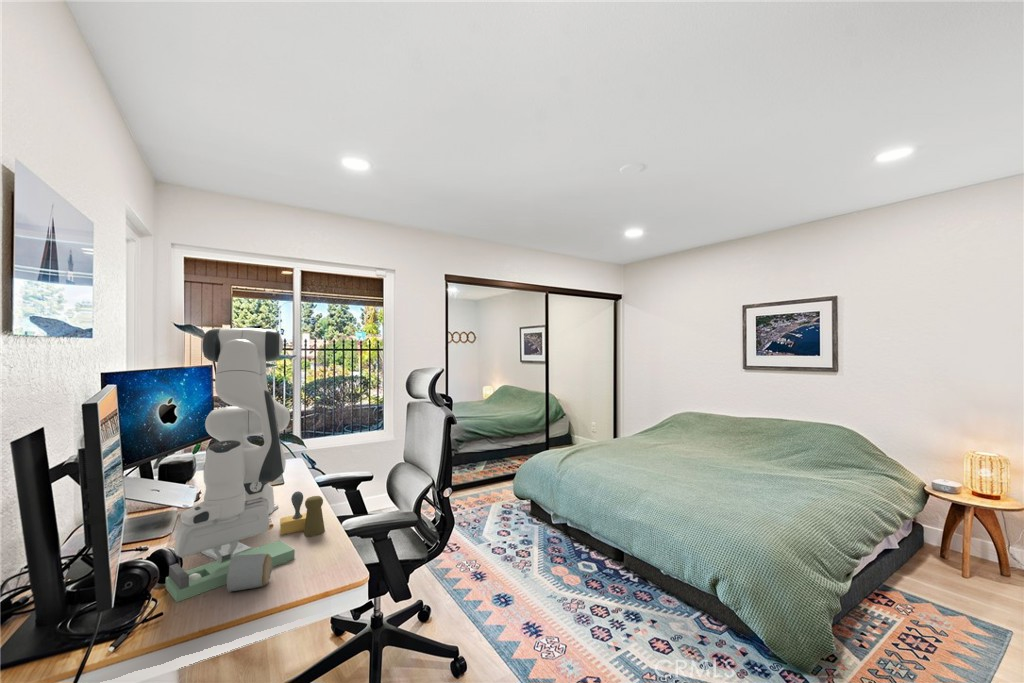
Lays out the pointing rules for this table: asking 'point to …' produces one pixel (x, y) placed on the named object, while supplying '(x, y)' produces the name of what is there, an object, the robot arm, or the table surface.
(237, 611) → the table surface
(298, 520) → the rubber stamp
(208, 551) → the external hard drive
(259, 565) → the ceramic mug
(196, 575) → the ball
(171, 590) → the putting strip
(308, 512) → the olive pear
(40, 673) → the table surface
